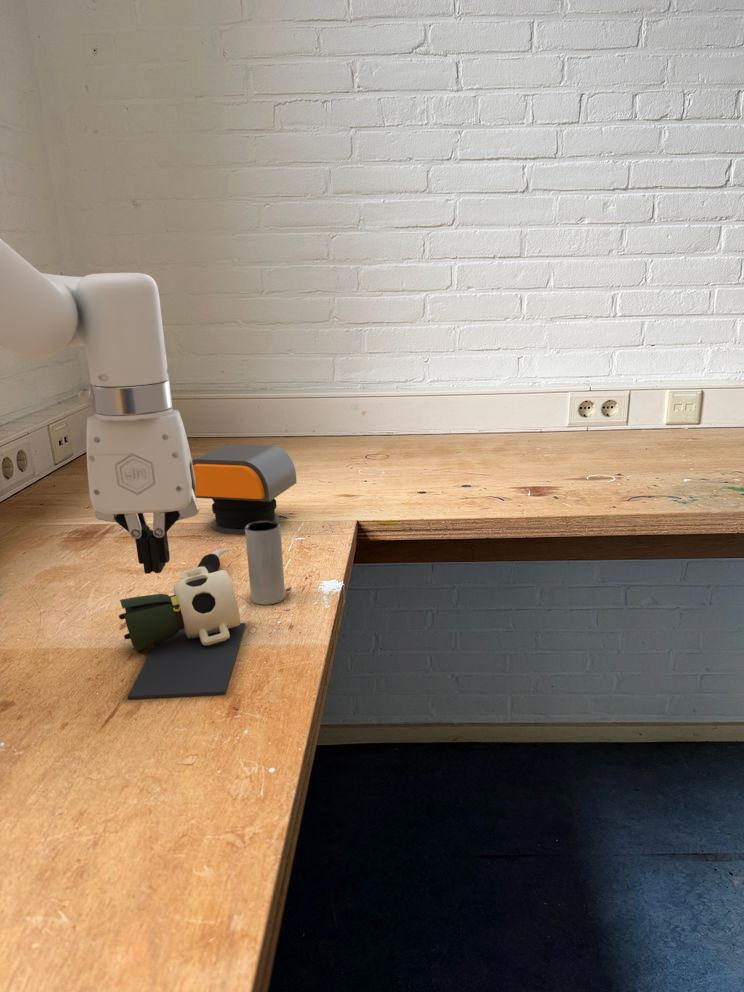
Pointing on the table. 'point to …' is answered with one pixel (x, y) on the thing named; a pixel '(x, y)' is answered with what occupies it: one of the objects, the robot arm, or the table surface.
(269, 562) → the grey hollow cylinder
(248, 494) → the toy turret
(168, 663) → the mat
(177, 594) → the character mug
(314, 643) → the table surface
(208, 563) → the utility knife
